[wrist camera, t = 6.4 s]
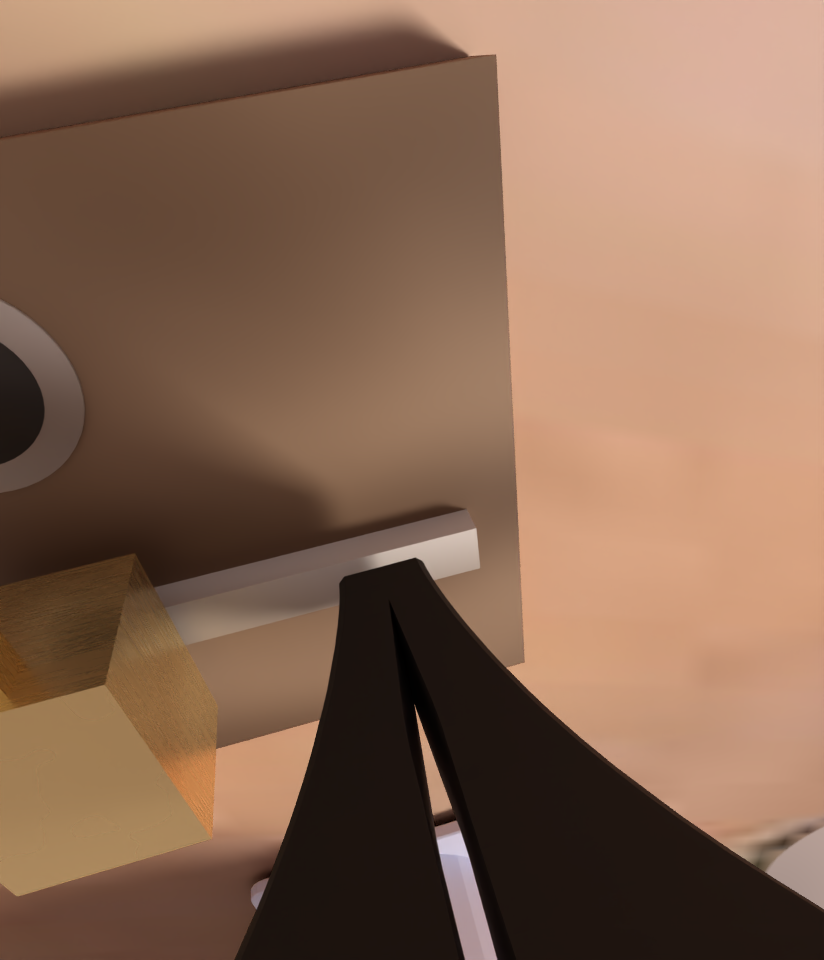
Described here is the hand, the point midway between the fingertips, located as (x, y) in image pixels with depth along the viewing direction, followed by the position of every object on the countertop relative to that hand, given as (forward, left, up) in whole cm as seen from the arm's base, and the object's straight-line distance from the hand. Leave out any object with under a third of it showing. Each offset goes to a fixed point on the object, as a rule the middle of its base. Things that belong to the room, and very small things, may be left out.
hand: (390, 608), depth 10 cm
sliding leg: (+2, +5, -1) cm, 5 cm away
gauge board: (+1, +7, -2) cm, 8 cm away
